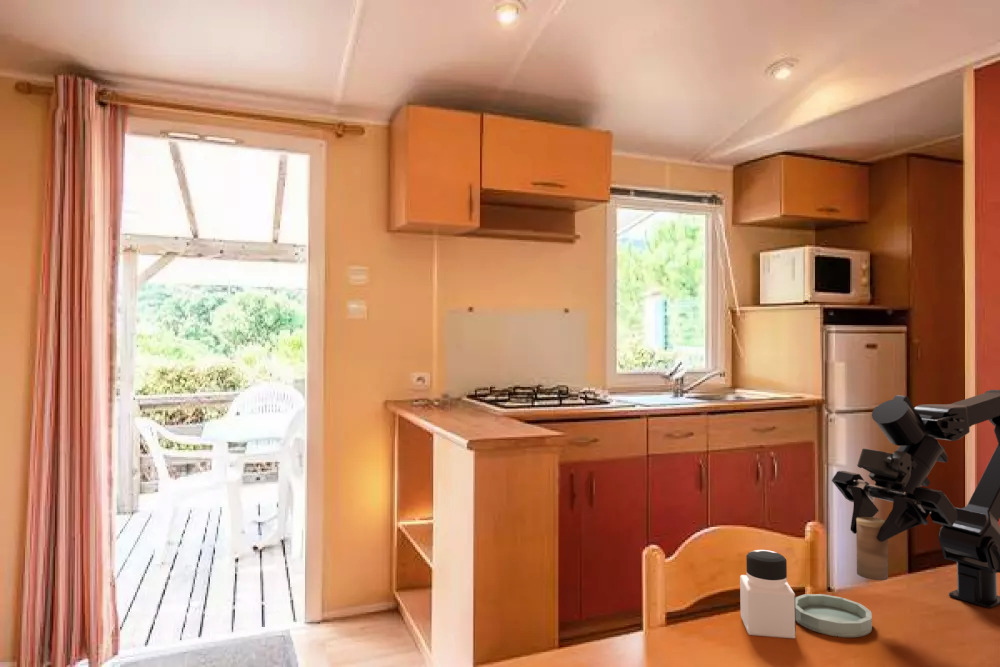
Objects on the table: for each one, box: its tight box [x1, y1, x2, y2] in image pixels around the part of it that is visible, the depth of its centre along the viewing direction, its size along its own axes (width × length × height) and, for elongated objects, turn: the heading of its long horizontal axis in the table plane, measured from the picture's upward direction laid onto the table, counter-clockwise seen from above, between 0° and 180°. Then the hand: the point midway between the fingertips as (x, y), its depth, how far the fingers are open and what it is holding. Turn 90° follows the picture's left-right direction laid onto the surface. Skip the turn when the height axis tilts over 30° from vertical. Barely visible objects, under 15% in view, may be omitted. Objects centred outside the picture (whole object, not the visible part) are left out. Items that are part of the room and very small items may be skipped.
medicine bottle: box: [739, 549, 797, 639], centre depth 103 cm, size 7×7×12 cm
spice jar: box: [856, 516, 889, 581], centre depth 104 cm, size 4×4×9 cm
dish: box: [795, 593, 873, 638], centre depth 105 cm, size 12×12×2 cm
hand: (865, 535), depth 103 cm, fingers closed on spice jar, 4 cm apart
